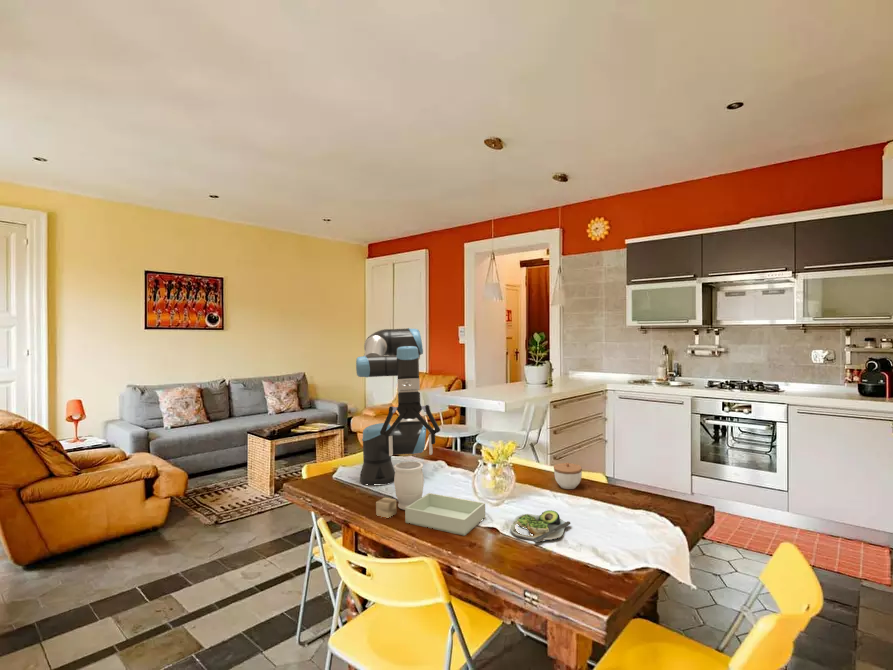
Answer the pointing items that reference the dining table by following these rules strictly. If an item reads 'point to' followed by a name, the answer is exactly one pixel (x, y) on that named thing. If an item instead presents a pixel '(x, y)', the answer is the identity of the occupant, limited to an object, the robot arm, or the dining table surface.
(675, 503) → the dining table surface
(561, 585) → the dining table surface
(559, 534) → the avocado toast plate
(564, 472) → the lidded jar
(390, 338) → the robot arm
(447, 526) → the tote
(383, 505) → the cube
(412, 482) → the jar
